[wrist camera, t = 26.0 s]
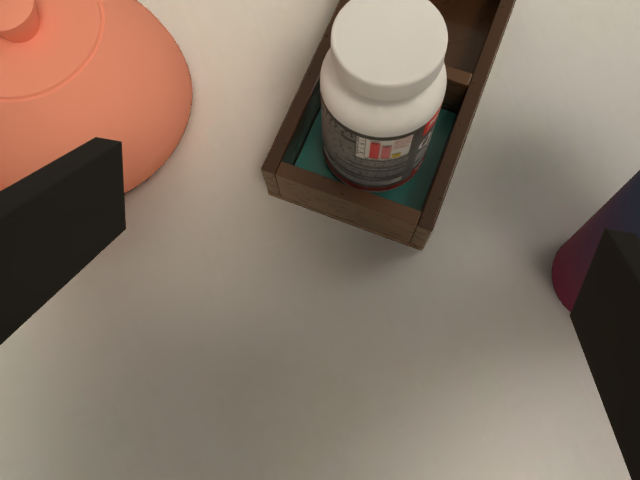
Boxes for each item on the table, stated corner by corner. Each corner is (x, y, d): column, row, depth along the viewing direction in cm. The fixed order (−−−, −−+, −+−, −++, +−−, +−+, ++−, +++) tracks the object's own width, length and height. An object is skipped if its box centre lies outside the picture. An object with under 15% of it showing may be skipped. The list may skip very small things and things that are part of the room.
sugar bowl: (244, 107, 34) (207, -18, 24) (73, 288, 31) (-49, 228, 21) (101, 2, 36) (14, -151, 27) (-70, 159, 33) (-238, 53, 24)
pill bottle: (432, 190, 31) (474, 91, 22) (328, 201, 31) (325, 107, 22) (416, 98, 33) (448, -31, 23) (317, 109, 33) (310, -16, 23)
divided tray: (512, 1, 35) (531, -42, 32) (422, 251, 31) (432, 231, 28) (375, -40, 37) (379, -86, 33) (268, 194, 32) (260, 168, 29)
